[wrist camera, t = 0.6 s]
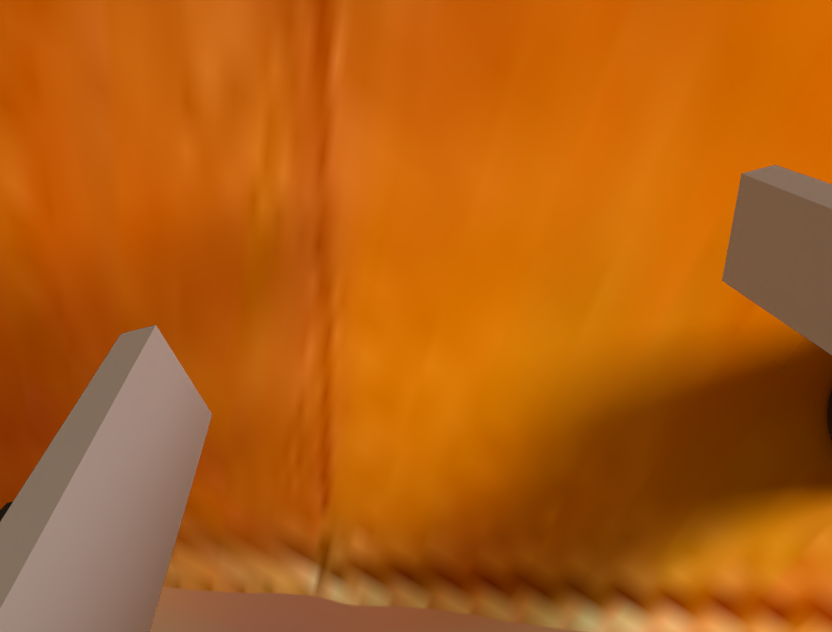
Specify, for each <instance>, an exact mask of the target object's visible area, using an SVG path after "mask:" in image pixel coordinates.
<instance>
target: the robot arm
mask: <svg viewBox="0 0 832 632" xmlns="http://www.w3.org/2000/svg"><path fill="white" fill-rule="evenodd" d="M722 281H724V282H725V283H726V284H728V285H729V286H731V287H732V288H734V289H735V290H737V291H738V292H740V293H741V294H743V295H744V296H745V297H747V298H748V299H750V300H751V301H753V302H754V303H756V304H757V305H759V306H760V307H762V308H763V309H765V310H766V311H767V312H769V313H770V314H772V315H773V316H775V317H776V318H778V319H779V320H781V321H782V322H784V323H785V324H786V325H788V326H789V327H791V328H792V329H794V330H795V331H797V332H798V333H800V334H801V335H803V336H804V337H806V338H807V339H808V340H810V341H811V342H813V343H814V344H816V345H817V346H819V347H820V348H822V349H823V350H825V351H826V352H827V353H829V354H830V355H832V184H829V183H826V182H823V181H820V180H817V179H814V178H812V177H809V176H806V175H803V174H800V173H797V172H794V171H791V170H788V169H785V168H782V167H779V166H777V165H773V166H769V167H765V168H761V169H758V170H754V171H750V172H746V173H742V175H741V180H740V185H739V191H738V196H737V202H736V207H735V213H734V218H733V224H732V229H731V235H730V240H729V246H728V251H727V257H726V262H725V268H724V273H723V278H722ZM211 417H212V413H211V412H210V410H209V408H208V407H207V405H206V404H205V402H204V401H203V399H202V397H201V396H200V394H199V393H198V391H197V389H196V388H195V386H194V385H193V383H192V382H191V380H190V378H189V377H188V375H187V374H186V372H185V370H184V369H183V367H182V366H181V364H180V362H179V361H178V359H177V358H176V356H175V355H174V353H173V351H172V350H171V348H170V347H169V345H168V343H167V342H166V340H165V339H164V337H163V335H162V334H161V332H160V331H159V329H158V328H157V326H156V325H154V326H150V327H146V328H142V329H138V330H134V331H130V332H127V333H123V334H121V335H120V336H119V338H118V339H117V341H116V342H115V344H114V345H113V347H112V349H111V350H110V352H109V353H108V355H107V356H106V358H105V359H104V361H103V363H102V364H101V366H100V367H99V369H98V370H97V372H96V373H95V375H94V377H93V378H92V380H91V381H90V383H89V384H88V386H87V387H86V389H85V391H84V392H83V394H82V395H81V397H80V398H79V400H78V402H77V403H76V405H75V406H74V408H73V409H72V411H71V412H70V414H69V416H68V417H67V419H66V420H65V422H64V423H63V425H62V426H61V428H60V430H59V431H58V433H57V434H56V436H55V437H54V439H53V440H52V442H51V444H50V445H49V447H48V448H47V450H46V451H45V453H44V454H43V456H42V458H41V459H40V461H39V462H38V464H37V465H36V467H35V469H34V470H33V472H32V473H31V475H30V476H29V478H28V479H27V481H26V483H25V484H24V486H23V487H22V489H21V490H20V492H19V493H18V495H17V497H16V498H15V500H14V501H13V502H10V503H7V504H6V505H5V506H4V507H3V508H2V509H1V510H0V632H150V629H151V625H152V622H153V618H154V615H155V611H156V608H157V605H158V601H159V598H160V594H161V591H162V587H163V584H164V580H165V577H166V573H167V570H168V566H169V563H170V559H171V556H172V552H173V549H174V545H175V542H176V539H177V535H178V532H179V528H180V525H181V521H182V518H183V514H184V511H185V507H186V504H187V500H188V497H189V493H190V490H191V486H192V483H193V479H194V476H195V472H196V469H197V465H198V462H199V458H200V455H201V451H202V448H203V445H204V441H205V438H206V434H207V431H208V427H209V424H210V420H211ZM828 426H829V432H830V435H831V439H832V392H831V395H830V400H829V407H828Z"/></svg>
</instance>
